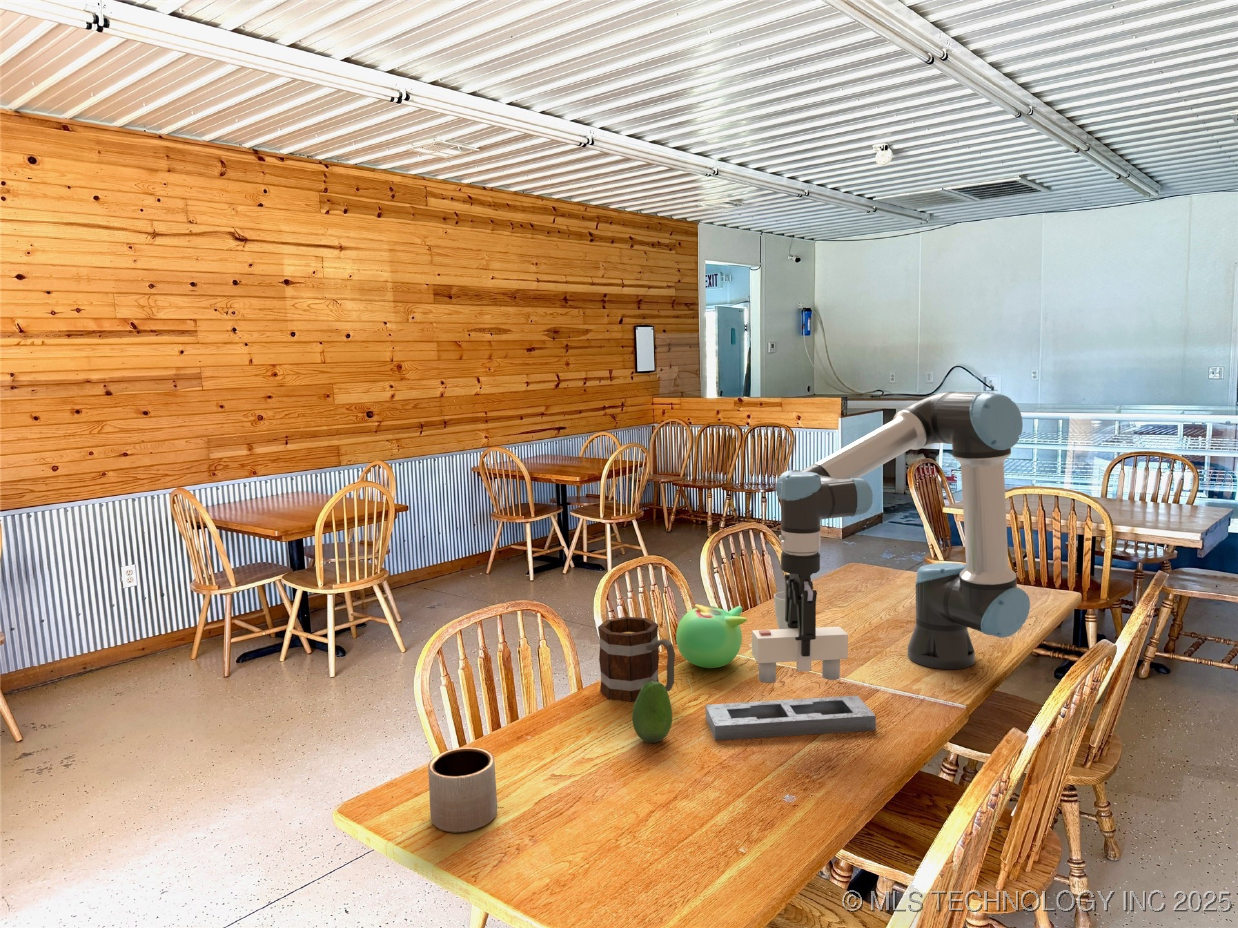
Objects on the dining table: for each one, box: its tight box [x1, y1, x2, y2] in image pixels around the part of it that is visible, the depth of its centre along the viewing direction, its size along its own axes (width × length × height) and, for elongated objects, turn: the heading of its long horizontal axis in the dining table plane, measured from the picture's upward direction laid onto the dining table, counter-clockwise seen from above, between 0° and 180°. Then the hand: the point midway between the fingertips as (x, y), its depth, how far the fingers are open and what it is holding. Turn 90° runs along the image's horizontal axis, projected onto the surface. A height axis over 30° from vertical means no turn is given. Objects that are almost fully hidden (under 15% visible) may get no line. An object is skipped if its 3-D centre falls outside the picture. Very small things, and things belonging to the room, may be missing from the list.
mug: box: [597, 616, 676, 703], centre depth 184 cm, size 20×14×15 cm
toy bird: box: [675, 604, 748, 669], centre depth 201 cm, size 18×17×15 cm
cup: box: [773, 591, 790, 629], centre depth 223 cm, size 8×8×10 cm
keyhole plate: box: [705, 694, 877, 742], centre depth 167 cm, size 32×10×3 cm, turn 95°
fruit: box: [631, 681, 673, 744], centre depth 162 cm, size 8×8×12 cm
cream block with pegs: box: [751, 626, 849, 684], centre depth 166 cm, size 18×5×10 cm, turn 95°
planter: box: [427, 746, 498, 834], centre depth 137 cm, size 11×11×10 cm
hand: (799, 665), depth 166 cm, fingers closed on cream block with pegs, 5 cm apart
